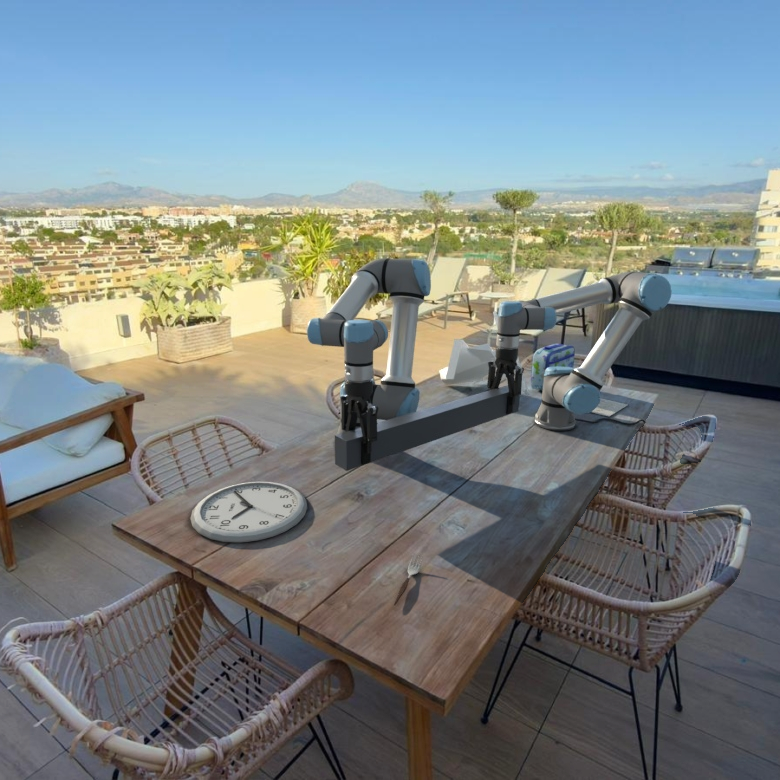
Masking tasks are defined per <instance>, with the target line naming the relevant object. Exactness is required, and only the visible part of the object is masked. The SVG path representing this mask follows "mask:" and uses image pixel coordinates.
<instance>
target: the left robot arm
mask: <svg viewBox="0 0 780 780" xmlns="http://www.w3.org/2000/svg"><path fill="white" fill-rule="evenodd" d="M430 271H431V270H430V267H429V264H428V262H427V261H426V260H424V259H417V258H416V259H415V258H387V257H382V258H377V259H374V260H372V261H370V262H368V263H366V264H364V265H363V266H361V267H360V268H359V269H357V270H356V272H354V273H353V275H352V276H351V279H350V283H349V285H348V287H346V289H345V290H344V291H343V293H342V294H341V295H340V296H339V298H338V299H337V300H336V301H335V303H334V304H333V305H332V306H331V308H330V309H329V310H328V312H326V314H325V315H324V317H323V318H321V317H314V318H311V319H310V320H309V322H308V323H307V326H306V336H307V340H308V342H309V343H310V344H312V345H318V346H322V347H337V348H343V351H344V354H343V355H344V356H343V357H344V379H345V380H344V381H343V382H342V383H341V384H340V387H339V389H340V390H339V393H340V394H339V411H338V415H339V416H340V417H339V418H340V423H339V427H338V429H337V433H336V435H337V434H341V433H344V432H348V431H351V430H354V429H358V428H361V431H362V436H363V441H361V464H362V466H365V465H368V464H371V463H372V462H371V451H372V442H374V441H377V423H378V420H380V421H381V420H382V421H386V420H389V419H392V418H396V417H399V416H403V415H406V414H410V413H413V412H417V411H418V407H419V403H420V392H421V391H420V389H418V388H417V387H416V382H415V380H414V379H413V378H412V375H413V365H414V358H415V357H414V356H415V346H416V336H417V328H418V317H419V307H420V306H421V305H422V304H423V303H424V302H425V297H429V296H430V294H431V289H432V280H431V272H430ZM377 294H387V295H389V297H388V299H389V300H390V302H391V303H392V313H391V321H390V332H389V329H388V327H387V325H386V324H385V323H384V322H383V321H381V320H379V319H370V320H369V319H360V318H359V319H356V318H357V316H358V315H359V313H361V311H362V310H363V308H364V307H365V305H366V304H367V302H368V301H369V299H372V298H373V297H375V296H376V295H377ZM389 333H390V334H389ZM388 338H389V342H388V353H387V362H386V363H387V364H386V370H385V371H386V372H385V375H384V376H383V377H382V378H381V379H380V384H377V383H376V380H375V379H374V351H375V350H377V349H379V348H380V347H382V346H383V345H384V344H385V343H386V342H387V340H388ZM370 462H371V463H370ZM367 463H368V464H367ZM364 464H365V465H364Z"/></svg>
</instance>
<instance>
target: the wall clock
mask: <svg viewBox="0 0 780 780" xmlns="http://www.w3.org/2000/svg"><path fill="white" fill-rule="evenodd" d="M307 503H308V502H307V499H306V498H305V496H304V495H303V493H301V492H300V491H298V490H297V489H295V488H294V487H291V486H289V485H286V484H283V483H280V482H279V483H278V482H272V481H249V482H248V481H247V482H242V483H238V484H232V485H229V486H226V487H223V488H220V489H218V490H216V491H213V492H211V493H210V494H208V495H207V496H205V497H204V498H202V499H201V500H200V501H199V502H198V503H197V504H196V505H195V507H194V508H193V509H192V511H191V515H190V523H191V526H192V528H193V529H194V531H196V532H197V533H198V534H199V535H201V536H203V537H205V538H208V539H210V540H214V541H218V542H222V543H239V544H240V543H249V542H256V541H262V540H265V539H269V538H274V537H276V536H278V535H280V534H282V533H286V532H287V531H289V530H290V529H292V528H293V527H295V526H296V525H298V524H299V523H300V522H301V521H302V519H303V518H304V517H305V516H306V513H307V510H308V504H307Z"/></svg>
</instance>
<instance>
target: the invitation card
mask: <svg viewBox="0 0 780 780" xmlns="http://www.w3.org/2000/svg"><path fill="white" fill-rule="evenodd" d="M628 406H629V404H627V403H623V402H618V401H614V400H609V399H605V398H601V397H600V402H599V404H598V406H597V407H596V408H595V409H594V410H593V411H591V412H590V413H593V414H596V415H600V416H604V417H607V418H610V417H611V416H613V415H614V414H616V413H617V412H619V411H621V410H623V409H624V408H626V407H628Z"/></svg>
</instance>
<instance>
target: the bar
mask: <svg viewBox="0 0 780 780" xmlns="http://www.w3.org/2000/svg"><path fill="white" fill-rule="evenodd" d="M507 396H509V388H508V384H506V385H503V386H501V387H500V386H499V387H498V388H496V389H493V390H491V389H488V390H485V391H483V392H479V393H477V394H476V393H475V394H472V395H469V396H465V397H461V398H458V399H455V400H451V401H448V402H445V403H441V404H438V405H434V406H431V407H427V408H424V409H420V410H416V412H413V413H410V414H406V415H403V416H399V417H396V418H392V419H389V420H382V421H378V422H377V441H374V442H372V451H371V462H370V463H367V464H364V465H362V464H361V441H363V436H362V431H361V428H358V429H354V430H351V431H348V432H344V433H341V434H337V433H336V434H334V465H335V466H337V467H339V468H341V469H342V470H344V471H345V472H348V471H350V470H354V469H357V468H360V467H361V466H362V467H363V466H365V465H368V464H371V463H374V462H377V461H379V460H382V459H385V458H388V457H390V456H391V457H392V456H394V455H397V454H400V453H402V452H405V451H408V450H411V449H415V448H417V447H419V446H423V445H425V444H426V445H427V444H428V443H431V442H434V441H437V440H439V439H442V438H445V437H448V436H451V435H454V434H456V433H460V432H463V431H465V430H468V429H472V428H475V427H477V426H479V425H480V426H481V425H483V424H486V423H488V422H491V421H494V420H497V419H500V418H503V417H506V416H509V415H511V414H515V413H517V412H519V407H520V397H521V395H518V396H516V397H515V404H514V405H513V412H512V413H510V414H506V407H507Z"/></svg>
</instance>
